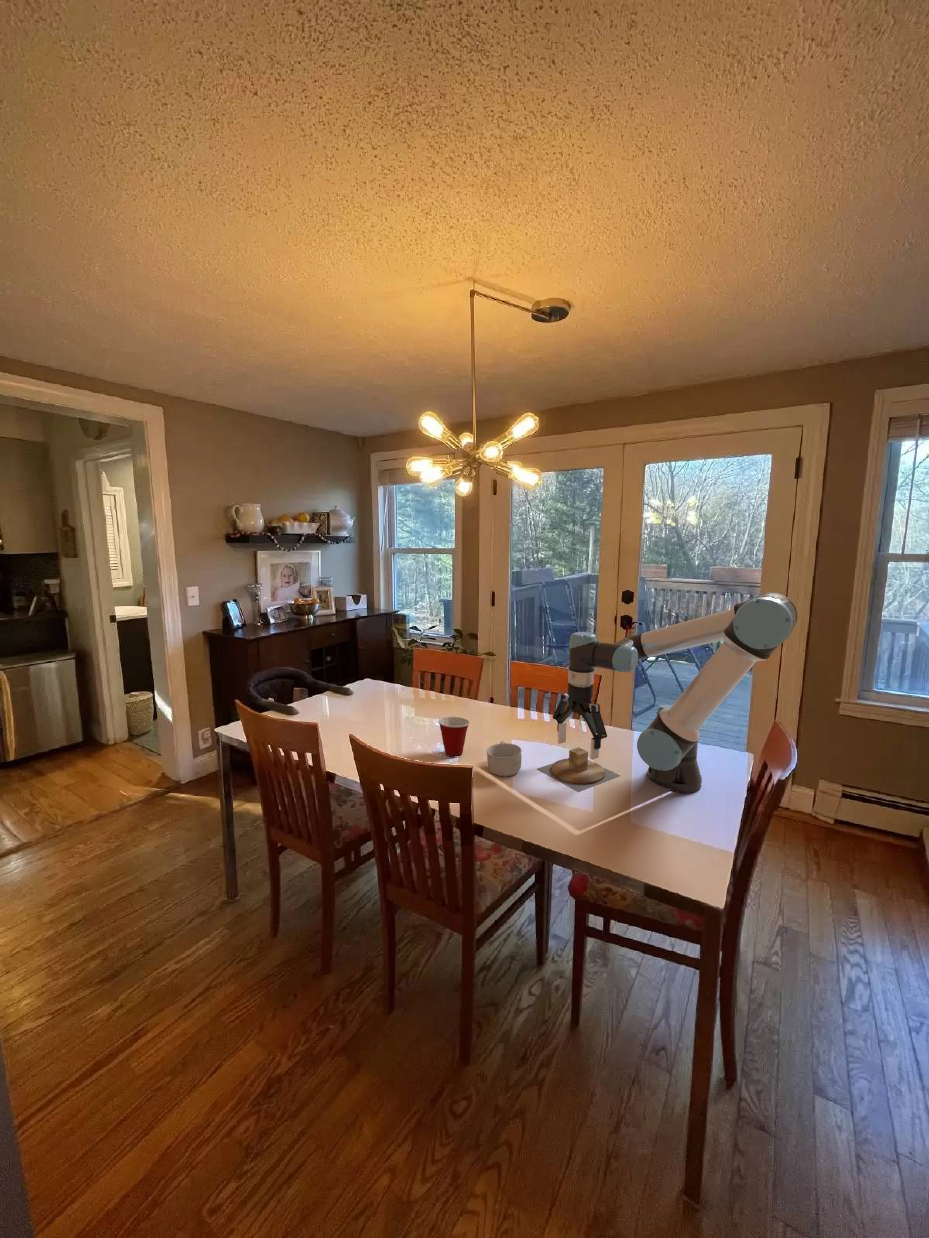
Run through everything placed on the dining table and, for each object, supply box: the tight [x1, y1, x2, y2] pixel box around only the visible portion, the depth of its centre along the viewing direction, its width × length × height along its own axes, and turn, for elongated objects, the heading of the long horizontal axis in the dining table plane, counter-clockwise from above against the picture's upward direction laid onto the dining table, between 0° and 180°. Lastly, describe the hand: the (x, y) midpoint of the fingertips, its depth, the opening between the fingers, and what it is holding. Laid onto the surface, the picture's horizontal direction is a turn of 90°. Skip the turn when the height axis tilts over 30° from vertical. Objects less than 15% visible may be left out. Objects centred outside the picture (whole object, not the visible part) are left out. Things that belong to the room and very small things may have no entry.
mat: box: [536, 762, 621, 793], centre depth 159 cm, size 18×18×1 cm
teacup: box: [486, 740, 523, 777], centre depth 162 cm, size 14×11×8 cm
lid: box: [552, 746, 605, 784], centre depth 159 cm, size 16×16×7 cm
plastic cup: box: [437, 716, 471, 758], centre depth 175 cm, size 11×11×12 cm
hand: (577, 750), depth 158 cm, fingers open, 13 cm apart
